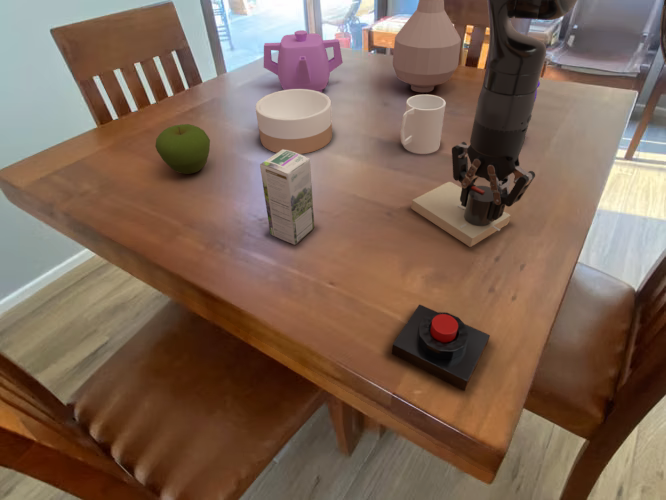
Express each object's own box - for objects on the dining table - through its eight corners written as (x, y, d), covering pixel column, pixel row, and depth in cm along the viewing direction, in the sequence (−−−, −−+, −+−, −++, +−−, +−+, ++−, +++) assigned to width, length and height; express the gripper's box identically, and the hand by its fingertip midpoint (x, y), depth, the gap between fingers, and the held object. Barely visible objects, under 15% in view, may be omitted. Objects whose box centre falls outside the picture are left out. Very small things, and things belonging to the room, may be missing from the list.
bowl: (245, 144, 101) (239, 110, 96) (287, 116, 112) (284, 84, 107) (307, 161, 95) (304, 126, 89) (345, 129, 106) (344, 96, 100)
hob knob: (498, 218, 74) (505, 192, 71) (480, 230, 72) (487, 204, 68) (475, 206, 77) (481, 180, 74) (457, 216, 75) (462, 191, 71)
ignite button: (459, 329, 55) (462, 320, 54) (450, 347, 53) (452, 338, 52) (436, 318, 56) (438, 310, 55) (426, 335, 54) (427, 327, 53)
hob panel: (515, 228, 75) (518, 218, 74) (477, 252, 71) (479, 242, 70) (448, 189, 85) (449, 180, 83) (411, 208, 81) (412, 199, 79)
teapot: (303, 71, 137) (299, 18, 127) (349, 83, 128) (348, 27, 118) (259, 91, 126) (251, 35, 116) (306, 105, 117) (301, 46, 107)
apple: (154, 177, 92) (139, 134, 85) (186, 154, 99) (174, 112, 92) (195, 187, 88) (183, 143, 82) (225, 163, 95) (215, 120, 89)
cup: (384, 151, 97) (386, 108, 90) (418, 133, 103) (422, 91, 96) (413, 164, 92) (418, 119, 86) (446, 144, 98) (453, 101, 92)
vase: (444, 104, 115) (463, -29, 95) (382, 94, 121) (387, -32, 101) (460, 81, 126) (480, -42, 106) (402, 73, 132) (411, -44, 112)
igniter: (486, 345, 57) (493, 326, 55) (464, 391, 52) (470, 372, 50) (417, 314, 62) (420, 295, 59) (391, 354, 57) (393, 335, 54)
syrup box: (290, 218, 80) (281, 147, 70) (316, 229, 77) (310, 156, 67) (269, 235, 76) (257, 162, 66) (296, 246, 74) (287, 173, 64)
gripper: (445, 109, 65) (432, 202, 76) (532, 142, 56) (503, 241, 68) (476, 95, 68) (459, 186, 80) (562, 124, 60) (529, 222, 71)
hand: (479, 211), depth 74 cm, fingers closed on hob knob, 5 cm apart
